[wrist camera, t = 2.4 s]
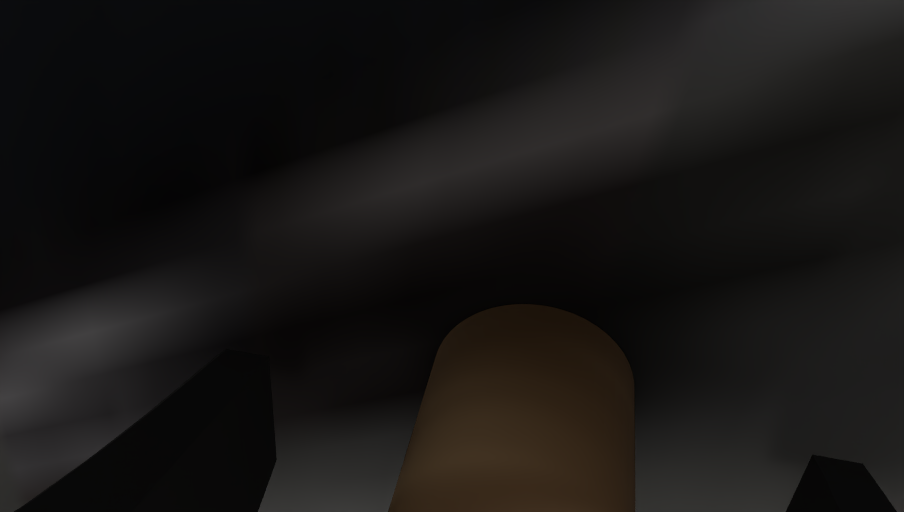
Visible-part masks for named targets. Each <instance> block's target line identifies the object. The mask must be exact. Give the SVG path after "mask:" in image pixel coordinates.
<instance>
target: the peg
mask: <svg viewBox="0 0 904 512" xmlns="http://www.w3.org/2000/svg"><path fill="white" fill-rule="evenodd" d="M388 512H635V395H634V378H633V373H632V370H631V367H630V364H629V362H628V360H627V358H626V356H625V355H624V353H623V351H622V350H621V349H620V347H619V346H618V345H617V343H616V342H615V341H614V340H613V339H612V338H611V337H610V336H609V335H608V334H606V333H605V332H604V331H603V330H601V329H600V328H599V327H597V326H596V325H594V324H593V323H591V322H589V321H588V320H586V319H584V318H582V317H580V316H577V315H575V314H573V313H570V312H567V311H564V310H561V309H558V308H553V307H549V306H543V305H534V304H513V305H503V306H499V307H494V308H490V309H487V310H484V311H481V312H478V313H476V314H474V315H472V316H470V317H468V318H467V319H465V320H464V321H462V322H461V323H459V324H458V325H457V326H456V327H454V328H453V329H452V330H451V331H450V332H449V333H448V335H447V336H446V337H445V338H444V340H443V341H442V343H441V345H440V347H439V349H438V351H437V354H436V357H435V360H434V364H433V367H432V370H431V373H430V377H429V380H428V383H427V386H426V390H425V393H424V396H423V400H422V403H421V406H420V409H419V413H418V416H417V419H416V423H415V426H414V429H413V432H412V436H411V439H410V442H409V445H408V449H407V452H406V455H405V459H404V462H403V465H402V468H401V472H400V475H399V478H398V482H397V485H396V488H395V491H394V495H393V498H392V501H391V504H390V508H389V511H388Z"/></svg>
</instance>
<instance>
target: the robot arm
mask: <svg viewBox="0 0 904 512" xmlns="http://www.w3.org/2000/svg"><path fill="white" fill-rule="evenodd" d="M276 460H277V459H276V446H275V433H274V420H273V406H272V393H271V380H270V366H269V357H267V356H262V355H256V354H251V353H245V352H240V351H234V350H229V349H226V350H225V351H223V352H222V353H220V354H219V355H218V356H216V357H215V358H214V359H213V360H211V361H210V362H209V363H208V364H207V365H205V366H204V367H203V368H202V369H200V370H199V371H198V372H197V373H196V374H194V375H193V376H192V377H191V378H190V379H188V380H187V381H186V382H185V383H184V384H182V385H181V386H180V387H179V388H178V389H176V390H175V391H174V392H173V393H171V394H170V395H169V396H168V397H167V398H165V399H164V400H163V401H162V402H160V403H159V404H158V405H157V406H155V407H154V408H153V409H152V410H151V411H149V412H148V413H147V414H146V415H144V416H143V417H142V418H141V419H139V420H138V421H137V422H136V423H134V424H133V425H132V426H130V427H129V428H128V429H127V430H125V431H124V432H123V433H121V434H120V435H119V436H118V437H116V438H115V439H114V440H112V441H111V442H110V443H109V444H107V445H106V446H105V447H103V448H102V449H101V450H100V451H98V452H97V453H96V454H94V455H93V456H92V457H90V458H89V459H88V460H86V461H85V462H84V463H82V464H81V465H79V466H78V467H77V468H75V469H74V470H72V471H71V472H70V473H68V474H67V475H65V476H64V477H63V478H61V479H60V480H58V481H57V482H56V483H54V484H53V485H51V486H50V487H49V488H47V489H46V490H44V491H43V492H42V493H40V494H39V495H37V496H36V497H35V498H33V499H32V500H30V501H29V502H28V503H26V504H25V505H23V506H22V507H20V508H19V509H17V510H16V511H14V512H258V509H259V507H260V504H261V502H262V499H263V496H264V493H265V491H266V488H267V485H268V482H269V479H270V477H271V474H272V471H273V468H274V465H275V463H276ZM786 512H897V511H896V510H895V509H894V507H893V506H892V504H891V503H890V502H889V500H888V499H887V497H886V496H885V494H884V493H883V492H882V490H881V489H880V487H879V486H878V484H877V483H876V482H875V480H874V479H873V477H872V476H871V475H870V473H869V472H868V470H867V469H866V468H865V466H864V465H863V464H861V463H856V462H850V461H845V460H839V459H834V458H828V457H822V456H817V455H812V457H811V459H810V461H809V463H808V466H807V468H806V470H805V472H804V474H803V476H802V478H801V481H800V483H799V485H798V487H797V489H796V491H795V493H794V495H793V498H792V500H791V502H790V504H789V506H788V508H787V510H786Z"/></svg>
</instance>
